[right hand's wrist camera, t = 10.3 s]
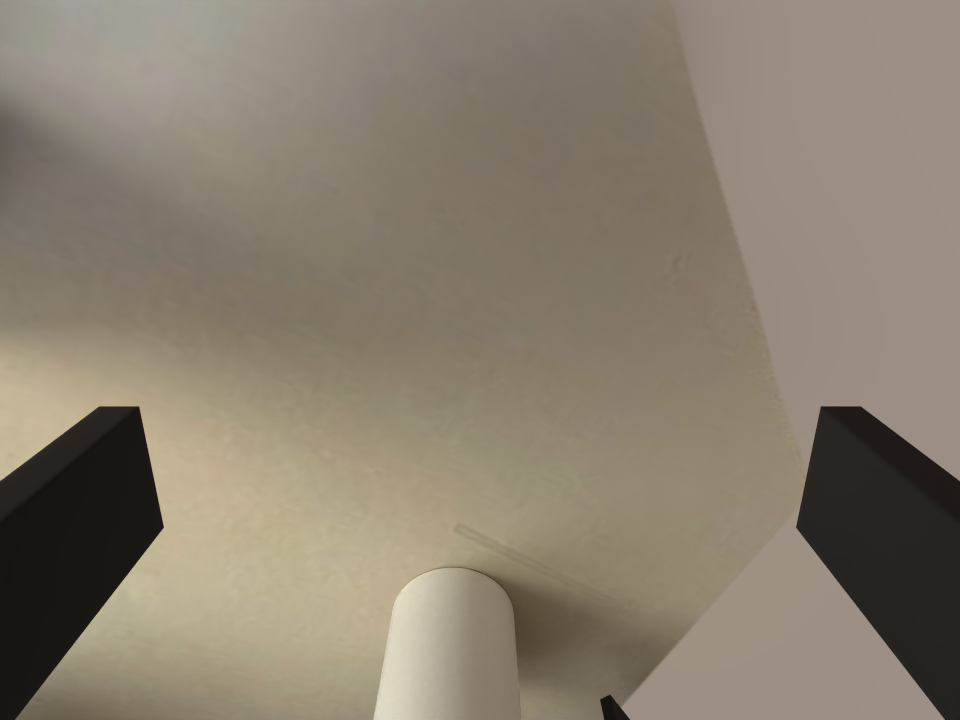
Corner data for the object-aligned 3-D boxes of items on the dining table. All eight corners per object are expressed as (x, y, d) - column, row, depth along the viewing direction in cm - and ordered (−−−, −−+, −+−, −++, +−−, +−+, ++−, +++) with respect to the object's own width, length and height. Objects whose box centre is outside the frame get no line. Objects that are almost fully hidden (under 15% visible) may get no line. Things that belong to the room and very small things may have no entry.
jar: (471, 680, 48) (467, 911, 34) (370, 630, 46) (323, 851, 32) (537, 602, 45) (563, 817, 31) (433, 547, 43) (411, 747, 30)
